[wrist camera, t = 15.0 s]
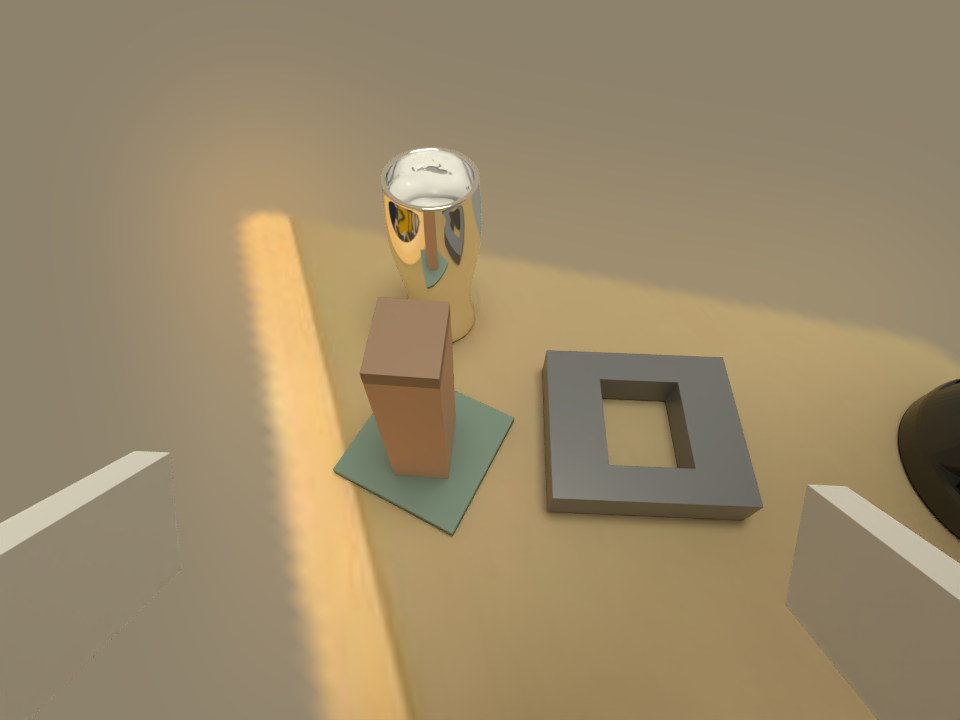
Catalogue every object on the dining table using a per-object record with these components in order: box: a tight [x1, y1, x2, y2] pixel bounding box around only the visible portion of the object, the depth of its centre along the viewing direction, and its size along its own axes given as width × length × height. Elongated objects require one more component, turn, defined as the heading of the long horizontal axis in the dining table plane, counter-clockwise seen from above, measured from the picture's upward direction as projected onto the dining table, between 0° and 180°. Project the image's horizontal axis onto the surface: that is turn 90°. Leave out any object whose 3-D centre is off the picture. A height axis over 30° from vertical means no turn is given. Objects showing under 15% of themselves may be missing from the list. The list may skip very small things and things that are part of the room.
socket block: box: [542, 350, 763, 520], centre depth 38 cm, size 14×12×3 cm
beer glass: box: [380, 147, 482, 342], centre depth 40 cm, size 7×7×15 cm
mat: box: [333, 391, 514, 536], centre depth 39 cm, size 10×10×1 cm
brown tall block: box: [360, 297, 456, 479], centre depth 33 cm, size 4×5×14 cm
